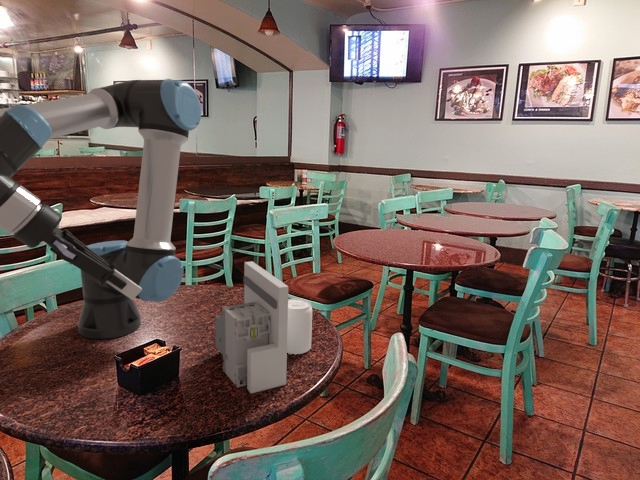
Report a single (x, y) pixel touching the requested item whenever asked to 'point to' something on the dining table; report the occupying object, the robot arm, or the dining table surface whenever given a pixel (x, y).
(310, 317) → the beverage can
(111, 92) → the robot arm
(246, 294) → the grey upright angular piece
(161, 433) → the dining table surface
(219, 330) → the circuit breaker
